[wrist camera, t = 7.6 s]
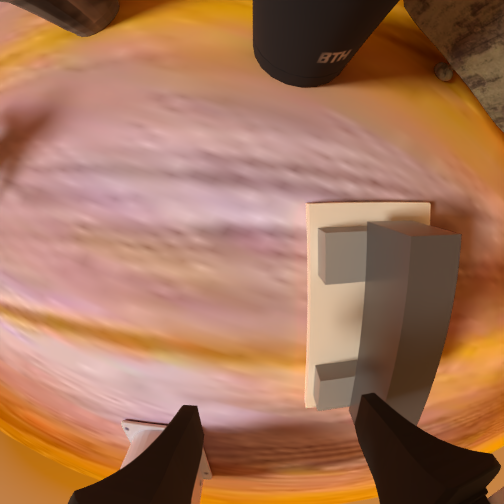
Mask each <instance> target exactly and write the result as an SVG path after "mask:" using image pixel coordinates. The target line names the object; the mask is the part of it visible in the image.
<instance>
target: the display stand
mask: <svg viewBox="0 0 504 504" xmlns="http://www.w3.org/2000/svg"><path fill="white" fill-rule="evenodd" d="M306 220H307V264H308V311H307V354H306V378H305V397H304V401H305V406H306V408H312V407H316V408H317V411H322V410H329V409H336V408H342V407H348V406H350V402H351V397H352V391H353V385H354V379H355V373H356V367H357V360H358V352H359V345H360V336H361V327H362V317H363V306H364V293H365V278H366V254H367V222H369V221H409V220H411V221H415V222H419V223H422V224H426V225H430V203H428V202H324V203H306Z"/></svg>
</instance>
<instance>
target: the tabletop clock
mask: <svg viewBox="0 0 504 504" xmlns="http://www.w3.org/2000/svg"><path fill="white" fill-rule="evenodd" d="M403 1H404V7H405V9H406V10H407V12H408V13H409V15H410V16H411V18H412V19H413V21H414V22H415V23H416V24H417V26H418V27H419V28H420V29H421V30H422V32H423V33H424V34H425V35H426V36H427V37H428V38H429V39H430V40H431V42H432V43H433V44H434V45H435V46H436V47H437V49H438V50H439V51H440V52H441V53H442V54H443V56H444V57H445V58H446V59H447V61H448V62H449V63H450V64H449V65H448V64H446V63H443V62H440V63H438V64H437V65H436V66H435V68H434V71H435V74H436V76H437V77H438V78H439V79H440V80H442V81H449V80H450V79H451V78H452V77H453V71H452V70H455V71H456V72H457V74H458V75H459V76H460V77H461V78H462V80H463V81H464V82H465V83H466V85H467V86H468V87H469V88H470V90H471V91H472V92H473V94H474V95H475V96H476V98H477V99H478V100H479V102H480V103H481V105H482V106H483V107H484V109H485V110H486V112H487V113H488V115H489V116H490V117H491V119H492V120H493V121H494V122H495V124H496V125H497V126H498V127H499V128H500V129H501V130H502V131H503V132H504V0H403Z"/></svg>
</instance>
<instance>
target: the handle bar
mask: <svg viewBox="0 0 504 504" xmlns="http://www.w3.org/2000/svg"><path fill="white" fill-rule="evenodd" d="M461 235H462V234H459V233H456V232H452V231H449V230H445V229H441V228H438V227H434V226H430V225H426V224H422V223H419V222H415V221H411V220H409V221H369V222H367V254H366V278H365V293H364V306H363V317H362V327H361V336H360V345H359V352H358V360H357V367H356V373H355V379H354V385H353V391H352V397H351V402H350V407H349V412H350V414H351V417H352V420H353V422H354V425H355V421H356V417H357V413H358V409H359V404H360V400H361V395H363V394H368V393H375V394H376V395H378V396H379V397H380V398H381V399H382V400H383V401H385V402H386V403H387V404H388V405H389V406H390V407H392V408H393V409H394V410H395V411H397V412H398V413H399V414H400V415H402V416H403V417H404V418H405V419H407V420H408V421H410V422H411V423H412V424H414V425H415V426H417V424H418V421H419V419H420V417H421V414H422V412H423V409H424V406H425V404H426V401H427V398H428V396H429V393H430V390H431V387H432V384H433V381H434V378H435V375H436V372H437V369H438V365H439V362H440V358H441V355H442V351H443V347H444V344H445V340H446V335H447V331H448V327H449V322H450V318H451V313H452V307H453V302H454V296H455V290H456V283H457V276H458V268H459V259H460V248H461Z"/></svg>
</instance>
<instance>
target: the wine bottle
mask: <svg viewBox="0 0 504 504" xmlns="http://www.w3.org/2000/svg"><path fill="white" fill-rule="evenodd" d="M398 1H399V0H253V48H254V53H255V58H256V59H257V61H258V63H259V64H260V66H261V68H262V69H263V70H265V71H266V72H267V73H268V74H269V75H270V76H271V77H273V78H275V79H277V80H279V81H281V82H283V83H285V84H288V85H293V86H297V87H317V86H320V85H323V84H326V83H329V82H330V81H331V80H333V79H334V78H335V77H336V76H338V75H339V74H340V72H341V71H342V70H343V69H344V67H345V66H346V65H347V63H348V62H349V61H350V60H351V58H352V57H353V56H354V55H355V53H356V52H357V51H358V50H359V48H360V47H361V46H362V45H363V43H364V42H365V41H366V40H367V38H368V37H369V36H370V35H371V34H372V32H373V31H374V30H375V29H376V28H377V26H378V25H379V24H380V23H381V22H382V20H383V19H384V18H385V17H386V16H387V14H388V13H389V12H390V11H391V10H392V8H393V7H394V6H395V5H396V4H397V3H398Z"/></svg>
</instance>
